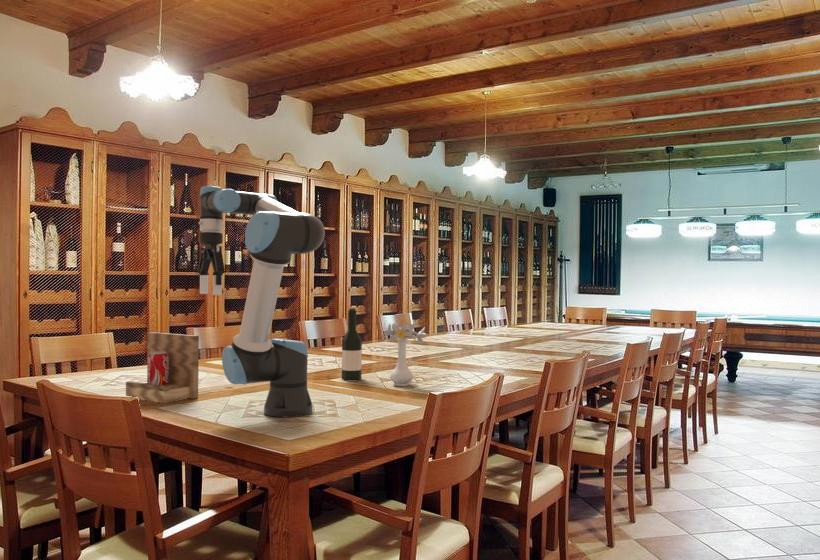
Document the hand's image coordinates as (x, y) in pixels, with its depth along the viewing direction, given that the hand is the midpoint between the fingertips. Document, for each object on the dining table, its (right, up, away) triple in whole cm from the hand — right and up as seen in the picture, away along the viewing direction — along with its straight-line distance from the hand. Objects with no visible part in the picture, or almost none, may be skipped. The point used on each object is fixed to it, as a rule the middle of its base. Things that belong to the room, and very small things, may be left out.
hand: (210, 294), depth 217 cm
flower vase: (+65, -38, +39) cm, 85 cm away
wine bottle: (+43, -37, +52) cm, 77 cm away
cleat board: (-20, -36, +7) cm, 42 cm away
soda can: (-21, -33, +7) cm, 39 cm away
